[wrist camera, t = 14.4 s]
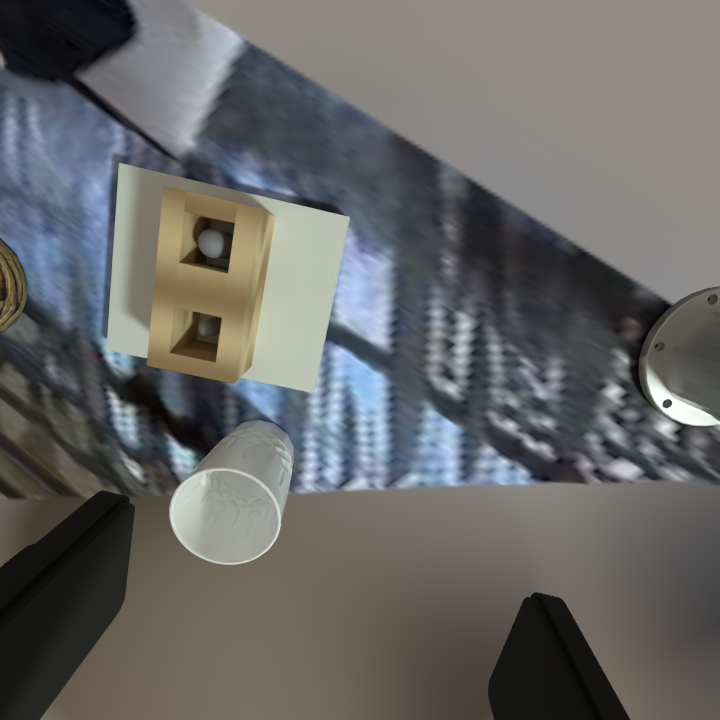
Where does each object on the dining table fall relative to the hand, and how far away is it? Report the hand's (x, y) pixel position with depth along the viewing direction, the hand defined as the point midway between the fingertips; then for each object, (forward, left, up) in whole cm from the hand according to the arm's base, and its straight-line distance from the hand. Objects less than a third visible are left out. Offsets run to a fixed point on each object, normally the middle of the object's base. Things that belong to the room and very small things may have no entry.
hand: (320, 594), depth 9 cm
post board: (+11, -3, -27) cm, 29 cm away
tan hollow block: (+11, -3, -25) cm, 28 cm away
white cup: (+6, +12, -27) cm, 30 cm away
